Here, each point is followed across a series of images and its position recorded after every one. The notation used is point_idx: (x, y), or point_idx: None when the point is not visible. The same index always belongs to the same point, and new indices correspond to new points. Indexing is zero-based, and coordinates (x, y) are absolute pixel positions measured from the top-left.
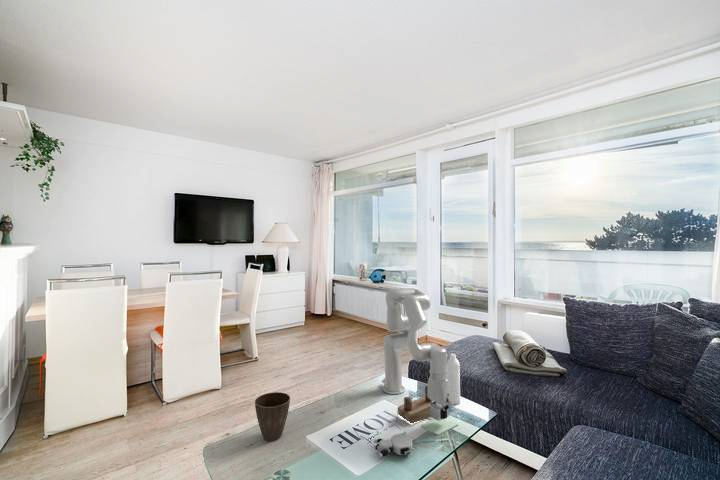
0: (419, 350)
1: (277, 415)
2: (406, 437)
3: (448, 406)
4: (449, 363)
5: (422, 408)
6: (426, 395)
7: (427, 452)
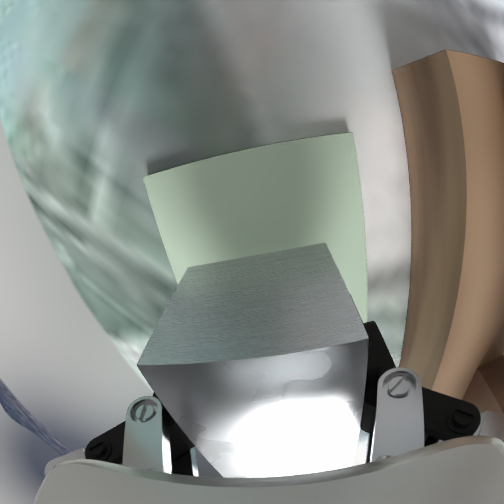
0: None
1: None
2: None
3: (85, 458)
4: None
5: (475, 267)
6: None
7: (44, 29)
